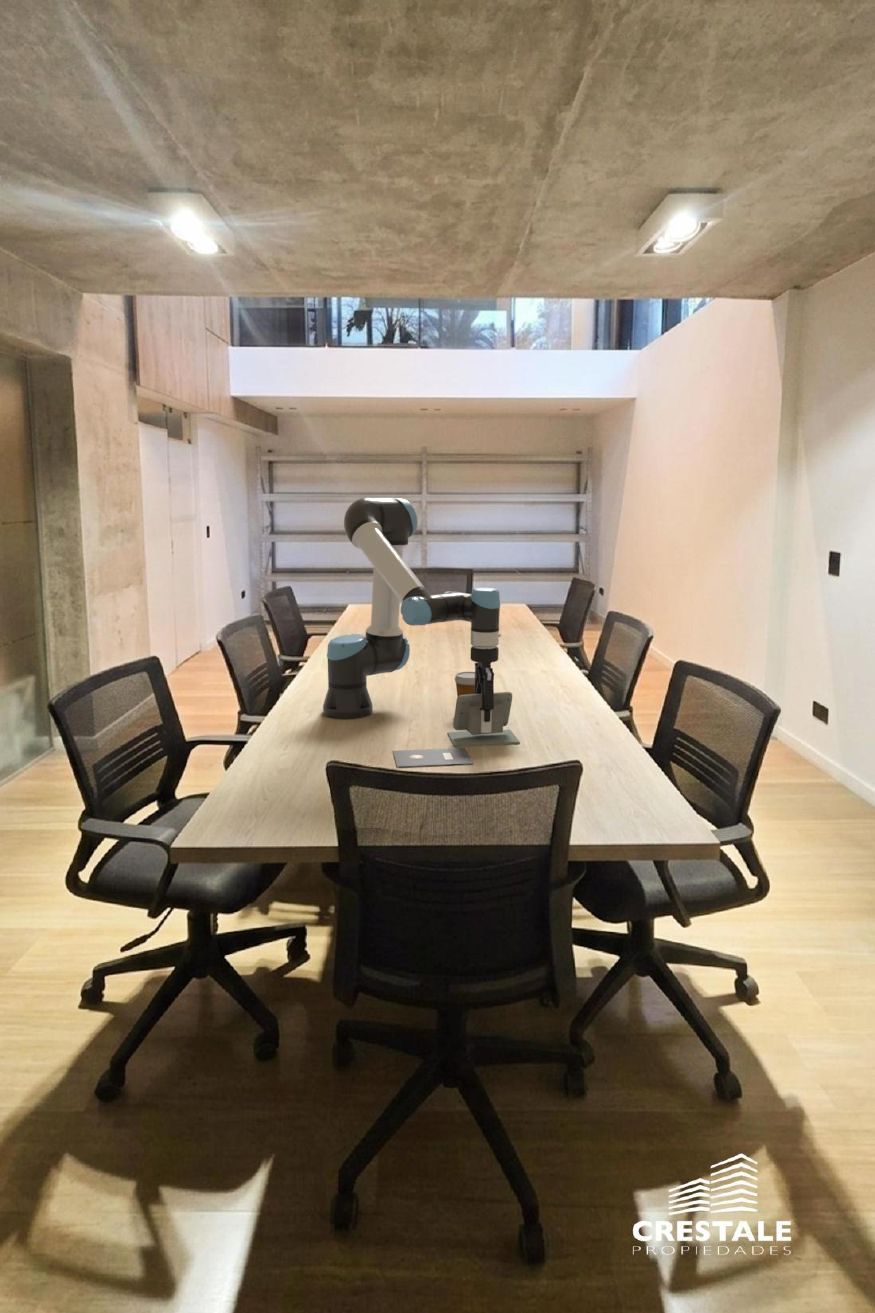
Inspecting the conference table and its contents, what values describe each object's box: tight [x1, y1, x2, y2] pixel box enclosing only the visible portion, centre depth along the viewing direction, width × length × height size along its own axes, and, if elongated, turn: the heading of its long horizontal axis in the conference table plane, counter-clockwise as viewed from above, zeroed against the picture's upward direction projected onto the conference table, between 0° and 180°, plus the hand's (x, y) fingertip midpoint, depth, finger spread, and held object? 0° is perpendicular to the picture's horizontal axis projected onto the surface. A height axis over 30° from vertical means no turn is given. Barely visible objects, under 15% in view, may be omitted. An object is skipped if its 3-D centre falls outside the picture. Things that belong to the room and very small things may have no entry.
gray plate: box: [392, 747, 474, 768], centre depth 195 cm, size 19×12×1 cm, turn 98°
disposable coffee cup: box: [453, 671, 475, 698], centre depth 235 cm, size 10×10×12 cm
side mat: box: [447, 729, 521, 747], centre depth 211 cm, size 18×11×1 cm, turn 98°
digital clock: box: [452, 691, 513, 735], centre depth 210 cm, size 16×9×11 cm, turn 95°
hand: (483, 727), depth 211 cm, fingers closed on digital clock, 7 cm apart
